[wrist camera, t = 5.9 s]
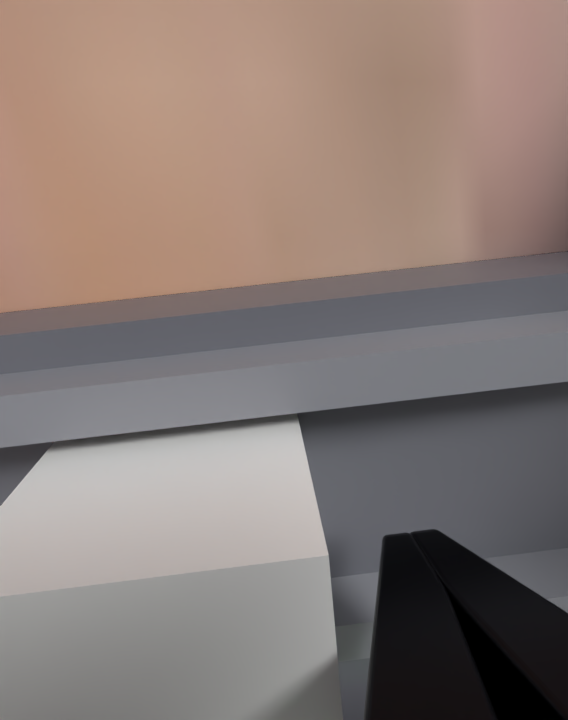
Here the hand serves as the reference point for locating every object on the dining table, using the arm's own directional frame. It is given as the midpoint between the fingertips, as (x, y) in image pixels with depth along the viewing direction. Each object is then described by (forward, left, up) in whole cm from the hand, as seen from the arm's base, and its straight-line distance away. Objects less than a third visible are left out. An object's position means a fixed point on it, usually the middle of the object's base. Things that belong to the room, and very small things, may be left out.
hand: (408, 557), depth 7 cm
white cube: (+3, 0, -2) cm, 4 cm away
